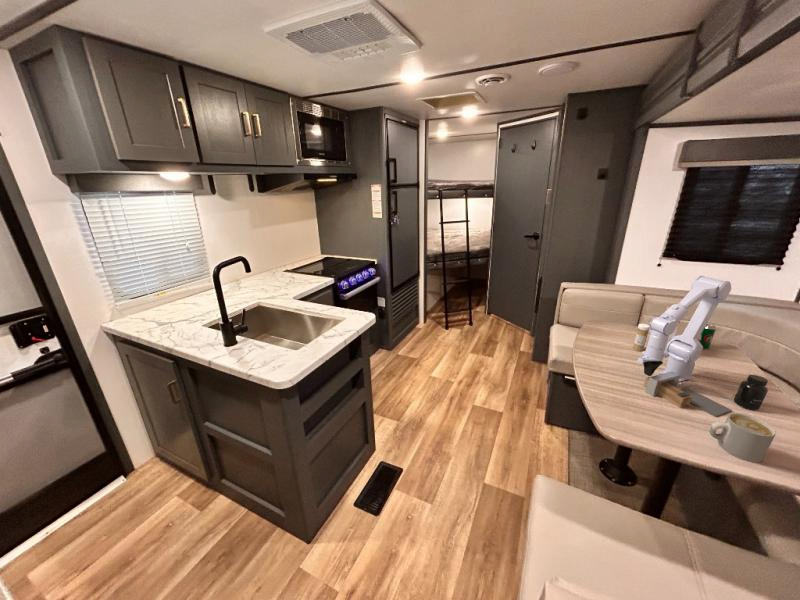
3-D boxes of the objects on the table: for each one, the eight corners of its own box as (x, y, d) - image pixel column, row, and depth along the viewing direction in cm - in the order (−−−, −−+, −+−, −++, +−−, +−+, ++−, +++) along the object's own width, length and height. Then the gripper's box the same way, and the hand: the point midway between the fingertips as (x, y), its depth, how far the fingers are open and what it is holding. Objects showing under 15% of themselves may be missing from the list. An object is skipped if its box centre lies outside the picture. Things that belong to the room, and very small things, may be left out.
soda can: (696, 343, 162) (703, 322, 158) (709, 346, 159) (717, 325, 155) (694, 346, 159) (702, 325, 155) (708, 350, 156) (716, 328, 152)
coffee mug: (756, 445, 99) (768, 420, 96) (768, 467, 91) (782, 441, 88) (700, 429, 106) (710, 405, 103) (707, 448, 98) (717, 423, 95)
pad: (685, 387, 127) (685, 386, 127) (731, 411, 114) (732, 410, 114) (669, 392, 125) (670, 391, 125) (715, 416, 111) (715, 415, 111)
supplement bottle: (755, 413, 113) (768, 385, 109) (729, 402, 119) (741, 375, 114) (762, 407, 116) (775, 380, 112) (737, 397, 122) (748, 370, 117)
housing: (667, 385, 129) (672, 371, 127) (675, 389, 126) (680, 375, 124) (645, 391, 125) (649, 377, 123) (652, 396, 123) (657, 381, 120)
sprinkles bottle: (644, 349, 157) (651, 325, 152) (641, 352, 155) (648, 327, 150) (634, 346, 161) (641, 322, 156) (630, 348, 158) (637, 324, 154)
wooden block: (652, 385, 130) (655, 375, 128) (688, 406, 117) (692, 395, 116) (643, 386, 129) (646, 376, 127) (679, 408, 116) (683, 397, 115)
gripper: (658, 338, 131) (650, 366, 136) (633, 344, 127) (625, 373, 132) (677, 346, 125) (667, 375, 129) (651, 352, 121) (642, 382, 125)
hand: (647, 374), depth 130 cm, fingers closed
